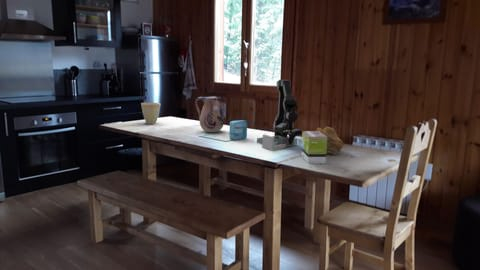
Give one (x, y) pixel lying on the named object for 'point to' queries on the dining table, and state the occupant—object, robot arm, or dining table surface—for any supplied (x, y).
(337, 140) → the rough brown rock
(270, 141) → the grey block
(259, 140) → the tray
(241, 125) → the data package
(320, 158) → the tea box
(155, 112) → the plant pot
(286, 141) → the caddy
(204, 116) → the ceramic pitcher
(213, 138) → the dining table surface
